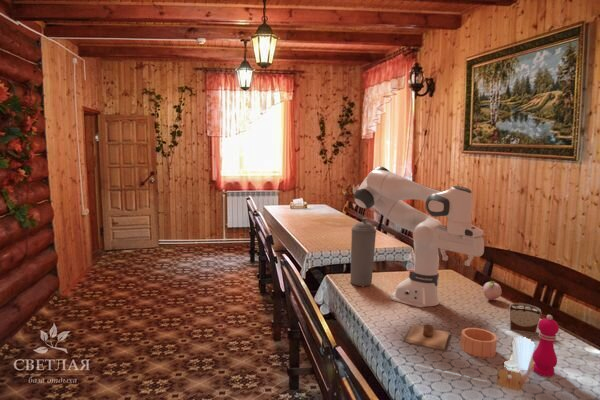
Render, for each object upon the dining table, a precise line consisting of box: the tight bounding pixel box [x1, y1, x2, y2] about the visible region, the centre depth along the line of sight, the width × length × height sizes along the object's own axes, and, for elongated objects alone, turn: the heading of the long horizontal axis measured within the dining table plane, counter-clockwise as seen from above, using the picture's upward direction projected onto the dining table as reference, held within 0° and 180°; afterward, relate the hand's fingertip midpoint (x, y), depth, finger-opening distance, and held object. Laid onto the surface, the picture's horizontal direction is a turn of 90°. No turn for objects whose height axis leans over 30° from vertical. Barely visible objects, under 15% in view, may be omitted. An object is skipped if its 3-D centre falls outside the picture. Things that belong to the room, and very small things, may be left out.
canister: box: [350, 217, 377, 287], centre depth 237 cm, size 13×13×35 cm
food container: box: [507, 302, 543, 335], centre depth 187 cm, size 12×6×10 cm, turn 71°
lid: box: [405, 324, 450, 350], centre depth 174 cm, size 14×14×5 cm
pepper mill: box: [532, 314, 560, 377], centre depth 152 cm, size 7×7×20 cm
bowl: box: [459, 327, 498, 359], centre depth 167 cm, size 12×12×6 cm
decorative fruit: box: [482, 280, 503, 301], centre depth 220 cm, size 9×8×10 cm
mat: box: [402, 326, 453, 353], centre depth 175 cm, size 16×16×1 cm
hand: (455, 262), depth 180 cm, fingers open, 8 cm apart
